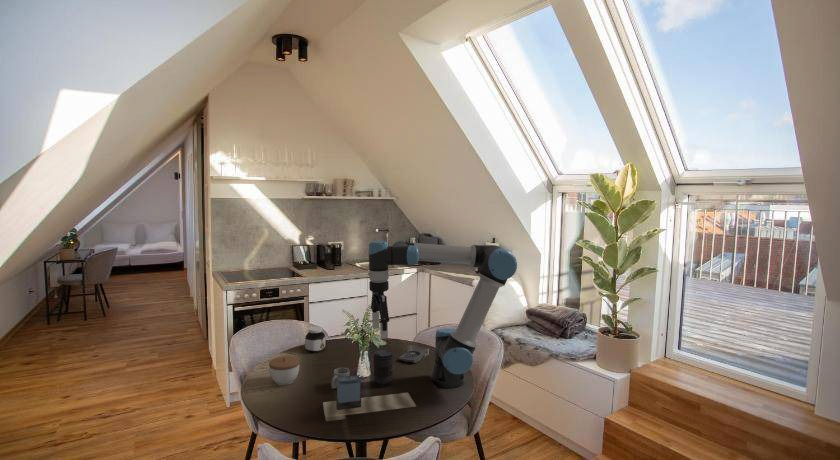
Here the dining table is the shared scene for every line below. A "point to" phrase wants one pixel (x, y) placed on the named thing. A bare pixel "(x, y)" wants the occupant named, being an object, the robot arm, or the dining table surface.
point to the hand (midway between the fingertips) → (379, 333)
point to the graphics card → (414, 354)
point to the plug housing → (348, 389)
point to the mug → (339, 373)
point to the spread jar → (315, 340)
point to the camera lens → (383, 368)
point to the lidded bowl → (284, 369)
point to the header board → (366, 405)
